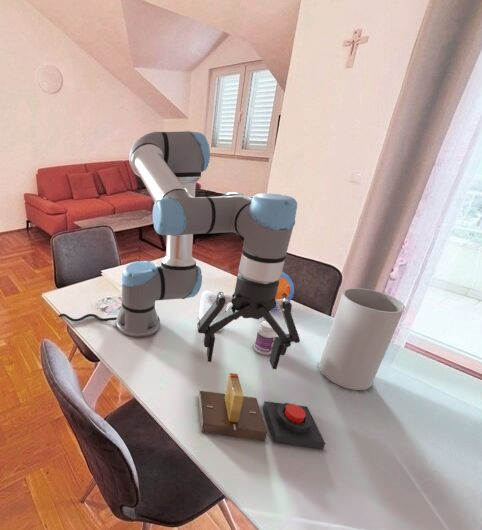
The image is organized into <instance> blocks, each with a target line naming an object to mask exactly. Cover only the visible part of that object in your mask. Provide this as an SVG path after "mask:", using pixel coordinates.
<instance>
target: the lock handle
mask: <svg viewBox="0 0 482 530" xmlns="http://www.w3.org/2000/svg"><path fill="white" fill-rule="evenodd" d="M224 394H225V403H226V408H227V413H228V418H229V421H231V422H238V420H239V416H240V411H241V407H242V403H243V398H244V396H245V395H244V392H243V388H242V385H241V381H240V377H239V374H238V373H233V372H229V373H228V377H227V383H226V388H225V393H224Z"/></svg>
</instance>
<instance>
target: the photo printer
mask: <svg viewBox="0 0 482 530" xmlns="http://www.w3.org/2000/svg"><path fill="white" fill-rule="evenodd" d="M217 295H218V293H216V292H214V291H210V290H204V291H203V292H202V293H201V296H200V303H199V310H198V319H199V321H200V320H201V318H202V317H203V316H204V315H205V313H206V312H207V311H208V310H209V308H210V307H211V306H212V305H213V303H214V302H215V301H216V298H217ZM227 306H228V304H227V305H226V306H224V307H223V309H222V310H221V311H220V313H219V314H218V315H217V316H216V318H218V317H219V316H220V315H222V314H223V313H224V312H226V311H227V309H228V307H227ZM216 318H215V319H216ZM215 319H214V320H215ZM214 320H213V321H214ZM223 329H224V327H223V328H222V329H220V330H219V331H217V332H221V331H222V330H223ZM217 332H216V333H217Z"/></svg>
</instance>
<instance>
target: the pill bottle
mask: <svg viewBox="0 0 482 530" xmlns="http://www.w3.org/2000/svg"><path fill="white" fill-rule="evenodd" d="M275 337H277V334H276V332H275V331H274V330H273V329H272V327H271V326H270V325H269V323H268V322H267V321H266V320H264V321H262V322H261V323H260V326H259V327H258V328H257V331H256V335H255V339H254V344H253V349H254V350H255V351H256V352H257V353H259V354H261V355H264V356H265V355H267V356H268V355H271V352H272V348H273V344H274V340H275Z"/></svg>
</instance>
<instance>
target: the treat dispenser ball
mask: <svg viewBox="0 0 482 530" xmlns="http://www.w3.org/2000/svg"><path fill="white" fill-rule="evenodd" d="M294 285H295V284H294V282H293V281H292V279H291V277H290V276H289V275H288V274H286V273H285V272H284V271H282V274H281V278H280V279H279V286H278V290H277V294H276V297H275V299H282V298H283V297H287V298H288V300H289V301H290V302H291V300H292V299H293V297H294V294H295V286H294ZM277 309H279V308H278V306H276V307H275V308H274V309H273V310H277Z"/></svg>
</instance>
